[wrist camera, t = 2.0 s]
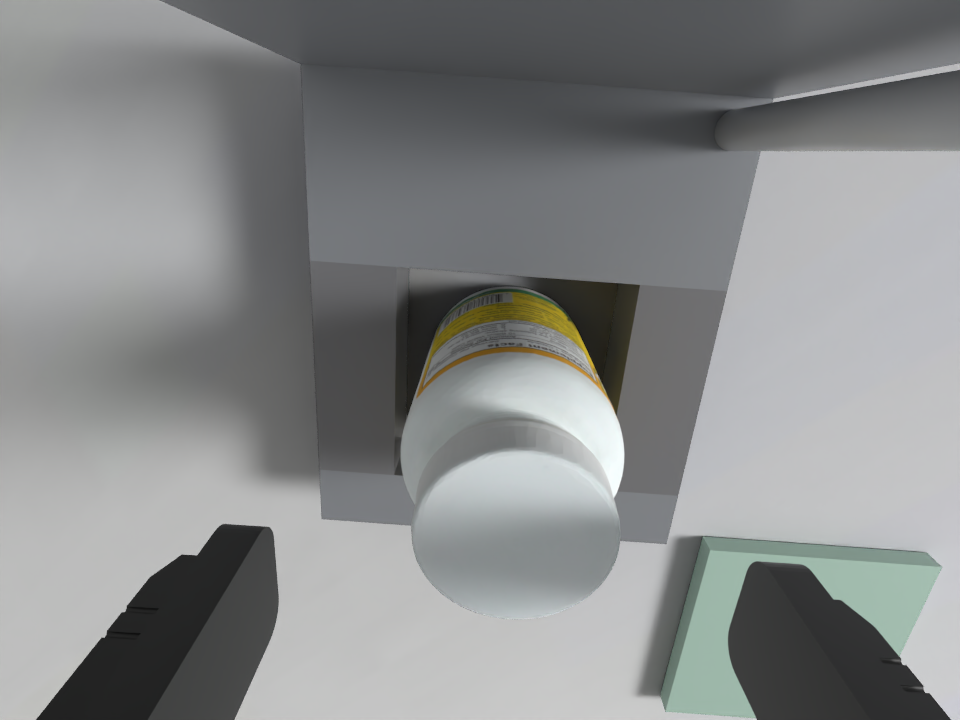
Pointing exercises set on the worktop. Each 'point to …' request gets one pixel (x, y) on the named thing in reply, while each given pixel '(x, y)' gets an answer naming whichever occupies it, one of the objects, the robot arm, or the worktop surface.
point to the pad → (717, 585)
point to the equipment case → (566, 181)
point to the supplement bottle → (512, 459)
